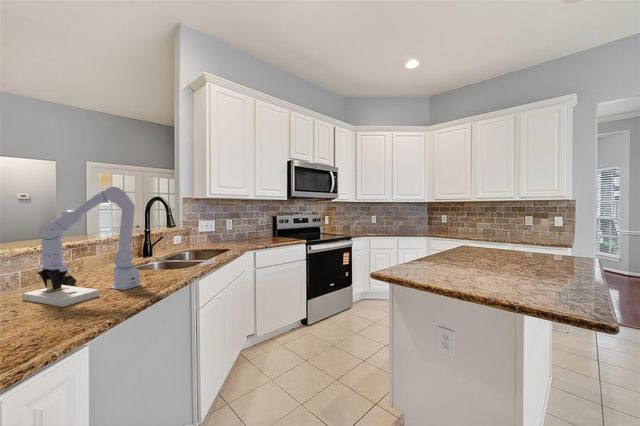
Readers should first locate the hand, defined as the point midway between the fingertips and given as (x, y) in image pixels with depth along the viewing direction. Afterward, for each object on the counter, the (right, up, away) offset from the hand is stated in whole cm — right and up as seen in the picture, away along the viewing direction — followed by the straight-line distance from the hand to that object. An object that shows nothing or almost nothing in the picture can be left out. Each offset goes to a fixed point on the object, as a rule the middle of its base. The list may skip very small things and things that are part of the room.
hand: (53, 288), depth 107 cm
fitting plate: (+5, -3, -2) cm, 6 cm away
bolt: (-13, -4, +18) cm, 22 cm away
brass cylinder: (0, -2, 0) cm, 2 cm away
